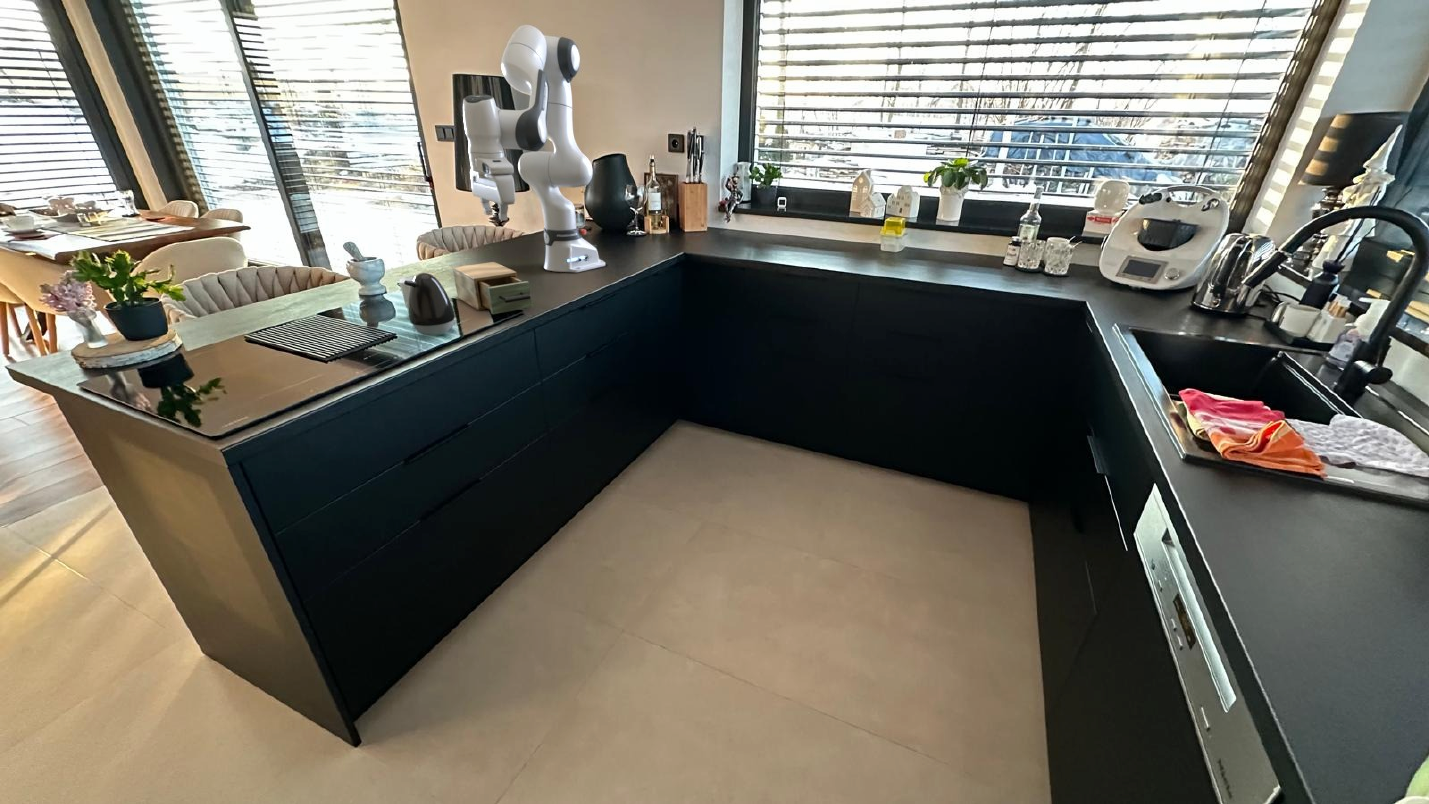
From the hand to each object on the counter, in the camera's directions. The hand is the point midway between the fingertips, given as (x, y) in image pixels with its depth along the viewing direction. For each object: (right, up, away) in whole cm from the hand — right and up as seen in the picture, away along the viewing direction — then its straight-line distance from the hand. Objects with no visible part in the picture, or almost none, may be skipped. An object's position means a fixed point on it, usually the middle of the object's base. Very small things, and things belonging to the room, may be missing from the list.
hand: (496, 217), depth 155 cm
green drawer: (+1, -24, +4) cm, 25 cm away
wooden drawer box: (-7, -21, +12) cm, 25 cm away
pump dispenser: (-10, -34, -14) cm, 38 cm away
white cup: (-19, -28, -3) cm, 34 cm away
